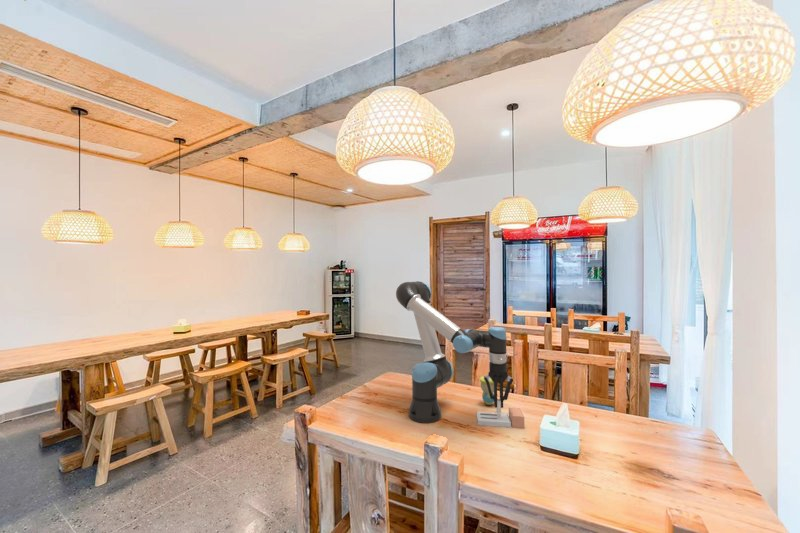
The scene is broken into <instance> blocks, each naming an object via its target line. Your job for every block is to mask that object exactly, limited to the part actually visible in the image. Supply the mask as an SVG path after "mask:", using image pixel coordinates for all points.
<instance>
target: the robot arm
mask: <svg viewBox="0 0 800 533" xmlns="http://www.w3.org/2000/svg"><path fill="white" fill-rule="evenodd" d="M395 297H396V299H397V302H398V303H399V304H400V305H401V306H402V307H403V308H404V309H406V311H409V312H411V311H412V312H413V316H414V320H415V322H416V323H415V324H416V326H417V330H418V331H417V332H418V334H419V338H420V342H421V344H422V345H421V346H422V349H423V353H424V356H425V358H424V359H423V362H420V363H417V364H415V365H414V366H413V367H412V372H411V373H412V374H411V378H412V379H411V380H412V381H411V384H412V385H411V386H412V388H411V390H412V391H411V392H412V394H411V395H412V399H411V402H410V405H409V408H408V417H409V419H410V420H413V421H414V422H417V423H423V424H429V423H435V422H438V421H439V420H440V419H441V418H442V411H441V410H442V409H441V407H440V404H439V401H438V388H441V387H442V386H443V385H445V384H447V383H448V382H450V380H451V379H452V378H453V375H454V367H453V365H452V363H451V361H449V359H447V357H446V354H444V353H442V349H441V346H440V342H439V338H438V335H437V332H438V333H439V334H440V335H442V336H443V337H444V338H445V339H447V341H449V342H451V343H452V346H453V348H454V350H455V351H456V352H457V353H459V354H465V353H469V352H471V351H472V350H474V349H476V348H479V347H480V348H488V353H489V354H488V356H489V357H488V359H489V362H488V363H489V364H488V365H489V366H488V367H489V371H488V373H487V374H486V375H487V376H486V375H483V376H484V380H485V381H486V383H487V387H488V391H489V395H490V398H491V399H493V400H494V402H493V406H494V408H496V413H497V416H501V413H502V409H504V401H507V400H508V397H509V394H510V390H511V389H510V388H511V385H512V383H513V382H514V379H513V377H511V376H509V374H508V365H507V362H508V359H507V332H506V331H507V330H506V328H504V327H502V326H490V327H489V328H488V330H479V329H473V328H470V329H469V328H467V329H465V330H463V328H461V327H459V325H457V324H456V323H454V322H452V321H451V320H450V319H449V318H447V316H445V315H443V314H442V312H440V311H438V309H436V308H434V307H433V306H432V305H431V304H432V303H431V297H432V289H431V287H430V286H429V284H427V283H426V282H423V281H405V282H402V283H401V284H399V286H397V289H396V291H395ZM489 377H490V378H491V380H492V381H493V382H494V392H493V394H494V396H493V395H492V391H491V388H490V384H489ZM505 381H507V382H506V386H505V390H504V382H505ZM498 384H499V398H498Z"/></svg>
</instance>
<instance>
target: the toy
mask: <svg viewBox="0 0 800 533" xmlns="http://www.w3.org/2000/svg"><path fill="white" fill-rule="evenodd" d="M487 375H488V374H485V375H482V376H480V377H479V378H478V380H479V382H480V389H481V391H482V393H481V394H482V395H481V397H482V401H483V402H484V404H485V405H486V406H487V405H488V406H491V405H494V400H493V399H491V398H490V395H489V391H488V387H487V383H486V381H485V380H484V376H487ZM489 384H490V388H491V391H492V395H493V396H494V382H493V381H492V380H491V378H490V377H489Z"/></svg>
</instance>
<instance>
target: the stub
mask: <svg viewBox="0 0 800 533" xmlns="http://www.w3.org/2000/svg"><path fill="white" fill-rule="evenodd" d="M508 416H509V419H510V421H511V428H514V429H525V416H524V413H523V411H522V409H521V408H520V407H510V406H509V407H508Z"/></svg>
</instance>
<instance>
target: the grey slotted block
mask: <svg viewBox="0 0 800 533" xmlns="http://www.w3.org/2000/svg"><path fill="white" fill-rule="evenodd" d="M476 420H477V421H476V422H477V426H485V427H498V428H499V427H500V428H512V425H511V421H510V419H509V413H502V412H501V416H497V412H484V411H476Z"/></svg>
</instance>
